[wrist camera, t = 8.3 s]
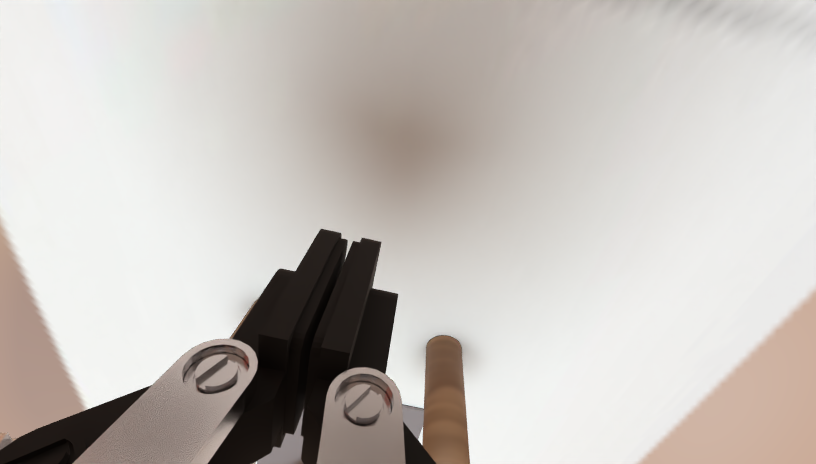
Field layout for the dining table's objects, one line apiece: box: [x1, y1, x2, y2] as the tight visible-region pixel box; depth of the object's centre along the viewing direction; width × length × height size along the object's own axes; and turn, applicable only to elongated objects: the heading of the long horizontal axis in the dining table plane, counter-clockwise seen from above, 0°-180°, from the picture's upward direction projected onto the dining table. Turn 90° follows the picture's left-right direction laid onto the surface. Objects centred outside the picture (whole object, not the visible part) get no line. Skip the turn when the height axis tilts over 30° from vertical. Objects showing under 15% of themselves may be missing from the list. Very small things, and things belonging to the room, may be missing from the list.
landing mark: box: [257, 405, 424, 464], centre depth 34 cm, size 14×14×1 cm
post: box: [423, 336, 470, 464], centre depth 24 cm, size 3×3×9 cm
